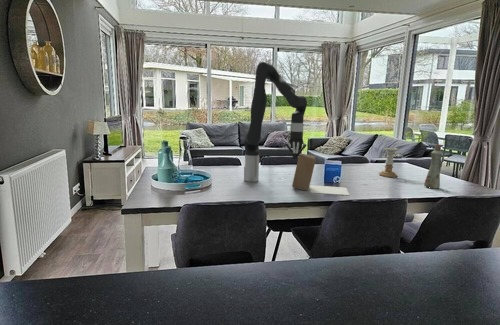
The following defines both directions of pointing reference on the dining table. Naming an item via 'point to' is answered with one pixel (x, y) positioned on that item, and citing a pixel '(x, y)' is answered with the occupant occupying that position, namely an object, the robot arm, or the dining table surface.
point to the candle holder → (389, 163)
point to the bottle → (434, 169)
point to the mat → (329, 190)
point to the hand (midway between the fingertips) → (295, 159)
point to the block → (304, 171)
